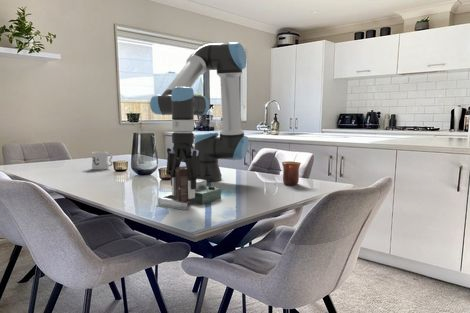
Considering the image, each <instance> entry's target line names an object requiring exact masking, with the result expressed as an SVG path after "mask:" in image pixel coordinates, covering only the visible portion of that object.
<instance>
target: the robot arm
mask: <svg viewBox="0 0 470 313" xmlns="http://www.w3.org/2000/svg"><path fill="white" fill-rule="evenodd" d="M246 67H247V56H246V51H245V49H244V46H243V45H242V44H241V43H240V42H237V41H236V42H233V41H232V42H231V41H229V42H218V43H217V42H215V43H207V44H204V45H202V46H200V47H199V48H198V49H196V50H194V51H193V52H192V53H191V54H190V55H189V56H188V58H187V59H186V62H185V65H184V66H183V68H182V69H181V70H180V71H179V73H178V74H177V75H176V76H175V77H174V79H173V80H172V82H170V84H168V86H167V88H166V89H165V90H164V91H163V92H162V93H161V94H156V95H152V97H151V98H150V101H149V108H150V110H151V112H152V113H153V115H160V116H171V130H172V133H171V141H172V144H173V146H172V147H167V149H166V151H167V152H166V153H167V157H166V158H167V159H166V173H165V174H166V175H167V176H169V177H170V186H171V194H172V196H175V195H176V179H175V168H176V167H181V163H182V161H183V162H184V163H185V166H186V167H187V171H188V174H189V178H190V179H189V180H188V199H192V198H195V189H196V180H197V179H201V180H207V183H208V182H216V181H220V180H222V179H223V178H222V173H221V169H220V165H219V160H229V161H230V160H231V161H242V160H244V159H245V158H246V155H247V153H248V149H249V137H248V136H246V135H245V131H244V130H243V129H242V125H241V101H240V99H241V98H240V76H242V74H243V70H245V69H246ZM207 71H208V72H209V71H216V75H218V77H219V79H220V96H221V97H220V98H221V100H220V101H221V118H222V121H221V122H222V129H221V130H220V132H218V131H216V132H209V133H208V132H206V133H197V134H196V135H194V134H195V133H193V132H194V130H195V129H194V128H195V127H194V126H195V125H194V122H195V121H194V120H195V119H194V117H195V116H203V115H206V114H207V113H208V112H209V110H210V106H211V105H210V101H209V99H208V98H207V96H203V95H201V94H195V93H194V89H193V85H194V84H195V83H196V82H197V80H198V79H199V77H200V76H202V75H204V74H205V73H206V72H207ZM193 144H194V146H193Z"/></svg>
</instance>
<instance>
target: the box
mask: <svg viewBox="0 0 470 313" xmlns="http://www.w3.org/2000/svg"><path fill="white" fill-rule="evenodd" d="M175 179H176V199H177V200H178V201H182V202H187V203H192V202H191V199H188V180H189V179H190V178H189V174H188V171H187V167H186V165H184V166H180V167H176V168H175Z"/></svg>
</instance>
